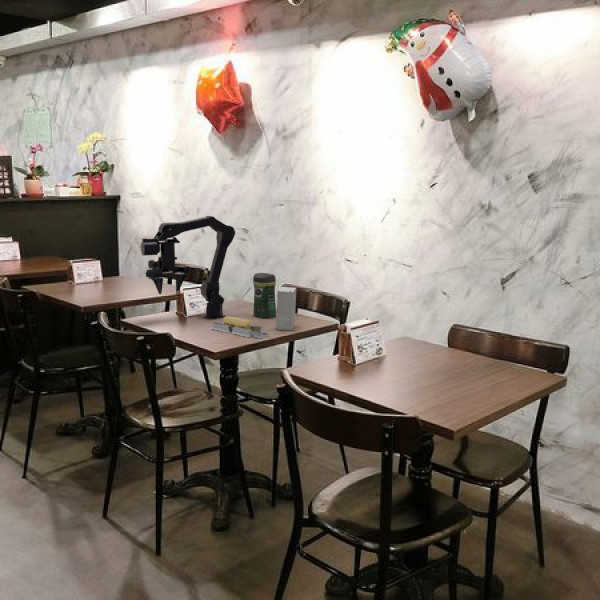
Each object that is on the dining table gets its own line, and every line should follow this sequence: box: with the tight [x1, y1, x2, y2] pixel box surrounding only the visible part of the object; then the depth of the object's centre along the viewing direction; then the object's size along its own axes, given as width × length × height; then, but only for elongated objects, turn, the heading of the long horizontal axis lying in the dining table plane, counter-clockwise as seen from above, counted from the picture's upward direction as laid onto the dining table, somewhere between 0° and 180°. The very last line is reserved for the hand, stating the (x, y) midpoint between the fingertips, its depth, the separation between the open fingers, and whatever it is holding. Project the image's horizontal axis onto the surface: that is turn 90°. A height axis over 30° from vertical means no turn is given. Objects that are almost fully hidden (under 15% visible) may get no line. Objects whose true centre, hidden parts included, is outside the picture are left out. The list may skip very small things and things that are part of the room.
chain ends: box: [212, 321, 270, 340], centre depth 252 cm, size 8×24×3 cm, turn 50°
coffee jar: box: [252, 272, 277, 319], centre depth 279 cm, size 10×8×19 cm
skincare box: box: [275, 286, 297, 331], centre depth 258 cm, size 8×7×16 cm
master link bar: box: [223, 315, 252, 330], centre depth 253 cm, size 3×12×4 cm, turn 50°
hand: (168, 292), depth 267 cm, fingers open, 9 cm apart
